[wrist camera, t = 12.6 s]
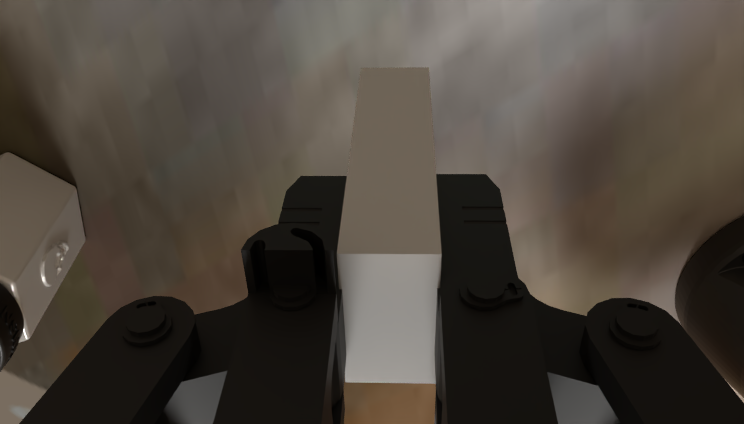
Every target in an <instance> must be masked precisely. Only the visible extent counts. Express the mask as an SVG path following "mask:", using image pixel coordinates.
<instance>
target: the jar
mask: <svg viewBox="0 0 744 424" xmlns="http://www.w3.org/2000/svg"><path fill="white" fill-rule="evenodd" d="M84 243H85V233H84V228H83V222H82V217H81V211H80V206H79V200H78V195H77V189H76V187H75V186H73V185H71V184H69V183H67V182H66V181H64V180H62V179H60V178H58V177H56V176H54V175H52V174H50V173H48V172H46V171H45V170H43V169H41V168H39V167H37V166H35V165H33V164H31V163H29V162H27V161H26V160H24V159H22V158H20V157H18V156H16V155H14V154H12V153H10V152H6V153H4V154H1V155H0V372H1V370H2V369H3V367H4V366H5V365H6V364H7V362H8V361H9V360H10V358H11V357H12V355H13V353H14V351H15V350H16V347H17V345H18V343H19V342H23V341H26V340H28V339H29V338H30V337H31V335H32V334H33V332H34V330H35V328H36V327H37V325H38V323H39V321H40V320H41V318H42V316H43V314H44V313H45V311H46V309H47V307H48V306H49V304H50V302H51V300H52V299H53V297H54V295H55V293H56V292H57V290H58V288H59V286H60V285H61V283H62V281H63V279H64V278H65V276H66V274H67V272H68V271H69V269H70V267H71V265H72V264H73V262H74V260H75V258H76V257H77V255H78V253H79V251H80V250H81V248H82V246H83V244H84Z"/></svg>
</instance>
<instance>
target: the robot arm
mask: <svg viewBox="0 0 744 424" xmlns="http://www.w3.org/2000/svg"><path fill="white" fill-rule="evenodd" d="M241 253H242V258H243V264H244V270H245V276H246V282H247V288H248V297H247V298H245V299H244V300H242V301H240V302H238V303H236V304H234V305H231V306H228V307H225V308H222V309H218V310H214V311H209V312H205V313H200V314H196V315H194V312H193V310H192V309H191V308H190V307H189V306H188V305H187V304H186V303H185V302H184V301H181V300H178V299H176V298H173V297H164V296H153V297H148V298H144V299H139V300H136V301H134V302H132V303H130V304H128V305H125V306H123V307H121V308H120V309H119V310H117V311H116V312H115V313H114V314H113V315H112V316H110V317H109V318H108V319H107V320H106V321H105V323H104V324H103V325H102V326H101V327H100V329H99V330H98V331H97V332H96V333H95V334H94V336H93V337H92V338H91V339H90V340H89V342H88V343H87V344H86V345H85V346H84V348H83V349H82V350H81V351H80V352H79V353H78V355H77V356H76V357H75V358H74V359H73V361H72V362H71V363H70V364H69V365H68V367H67V368H66V369H65V370H64V371H63V372H62V374H61V375H60V376H59V377H58V378H57V380H56V381H55V382H54V383H53V384H52V386H51V387H50V388H49V389H48V390H47V391H46V393H45V394H44V395H43V396H42V398H41V399H40V400H39V401H38V402H37V403H36V405H35V406H34V407H33V408H32V409H31V410H30V412H29V413H28V414H27V415H26V416H25V418H24V419H23V420H22V421H21V422H20V423H19V424H344V414H345V405H344V391H343V387H344V376H345V381H346V382H364V383H434V384H436V402H435V424H744V403H743V402H742V400H741V399H740V398H739V397H738V396H737V394H736V393H735V392H734V391H733V389H732V388H731V387H730V386H729V384H730V385H731V386H732V387H733V388H734V389H735V390H736V391H737V392H738V393H739V394H740V395H741V396H742V397H743V398H744V216H743V217H741V218H739V219H738V220H736V221H734V222H732V223H731V224H729V225H728V226H726V227H725V228H723V229H722V230H720V231H719V232H718V233H716V234H715V235H714V236H713V237H711V238H710V239H709V240H708V241H707V242H706V243H705V244H704V245H703V246H702V247H701V248H700V249H699V250H698V251H697V252H696V253H695V254H694V256H693V257H692V258H691V260H690V261H689V263H688V264H687V266H686V267H685V269H684V271H683V273H682V275H681V277H680V279H679V282H678V285H677V289H676V295H675V307H676V312H677V316H678V319H679V321H680V323H681V325H682V326H681V325H680V323H679V322H678V321H676V320H675V319H674V318H673V317H672V316H671V315H670V314H669V313H668V312H666V311H665V310H663V309H661V308H659V307H657V306H655V305H653V304H651V303H649V302H645V301H641V300H636V299H632V298H612V299H609V300H606V301H603V302H600V303H597V304H596V305H595V306H594V307H593V308H592V309H591V310H590V311H589V312H588V314H587V316H584V315H580V314H576V313H572V312H567V311H563V310H560V309H557V308H554V307H551V306H548V305H546V304H544V303H542V302H541V301H539V300H537V299H535V298H534V297H533V296H532V295H530V293H529V291H528V289H527V287H526V285H525V284H524V283H523V282H522V281H521V280H520V279H519V278H518V276H517V271H516V266H515V261H514V257H513V252H512V247H511V242H510V237H509V232H508V227H507V224H506V217H505V212H504V210H503V203H502V198H501V193H500V189H499V188H498V187H497V186H496V185H495V184H494V183H493V182H492V181H491V179H490V178H489V177H488V176H487V175H486V174H436V165H435V151H434V136H433V121H432V107H431V92H430V78H429V68H361V71H360V79H359V86H358V94H357V102H356V109H355V117H354V125H353V133H352V140H351V148H350V156H349V163H348V171H347V176H301V177H300V178H299V179H298V180H297V181H296V182H295V183H294V184H293V185H292V186H291V187H290V188H289V189H288V190H287V191H286V194H285V198H284V202H283V206H282V211H281V214H280V218H279V224H278V225H274V226H271V227H268V228H265V229H263V230H260V231H259V232H257V233H256V234H254V235H253V236H252V237H250V238H249V239H248V240H247V241H246V243H245V244H244V246H243V248H242V249H241ZM725 380H726V381H727V382H728V383H729V384H728V383H727V382H726V381H725Z"/></svg>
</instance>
